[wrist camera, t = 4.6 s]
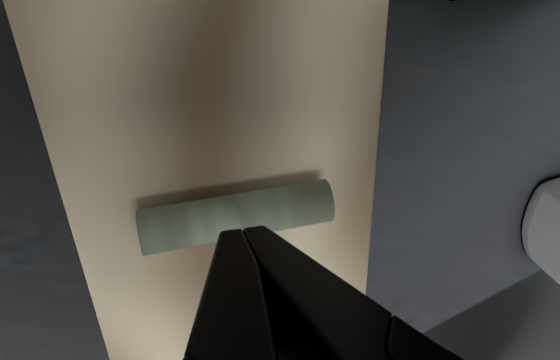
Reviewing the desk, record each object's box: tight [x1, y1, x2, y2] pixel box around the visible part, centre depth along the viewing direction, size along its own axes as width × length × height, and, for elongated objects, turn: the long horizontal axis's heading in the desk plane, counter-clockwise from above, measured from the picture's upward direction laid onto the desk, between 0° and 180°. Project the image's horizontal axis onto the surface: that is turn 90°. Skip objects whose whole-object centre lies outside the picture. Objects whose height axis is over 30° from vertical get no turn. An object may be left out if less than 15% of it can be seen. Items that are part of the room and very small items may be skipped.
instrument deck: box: [3, 0, 389, 360], centre depth 15 cm, size 10×22×3 cm, turn 2°
